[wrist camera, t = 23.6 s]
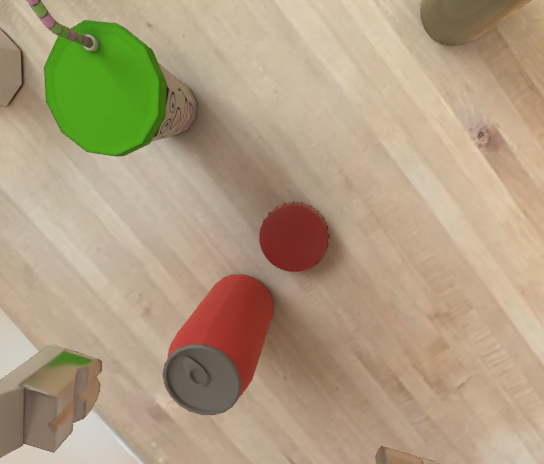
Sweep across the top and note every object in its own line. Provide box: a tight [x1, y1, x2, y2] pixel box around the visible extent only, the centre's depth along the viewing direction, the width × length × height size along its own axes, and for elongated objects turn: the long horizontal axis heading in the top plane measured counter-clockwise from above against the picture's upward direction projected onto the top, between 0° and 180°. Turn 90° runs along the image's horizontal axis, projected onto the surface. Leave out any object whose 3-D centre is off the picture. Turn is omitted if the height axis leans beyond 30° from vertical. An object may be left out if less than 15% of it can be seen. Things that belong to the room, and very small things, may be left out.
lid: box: [260, 202, 329, 272], centre depth 31 cm, size 6×6×2 cm
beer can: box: [163, 275, 273, 415], centre depth 29 cm, size 7×7×12 cm
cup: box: [26, 0, 197, 156], centre depth 23 cm, size 8×8×15 cm
